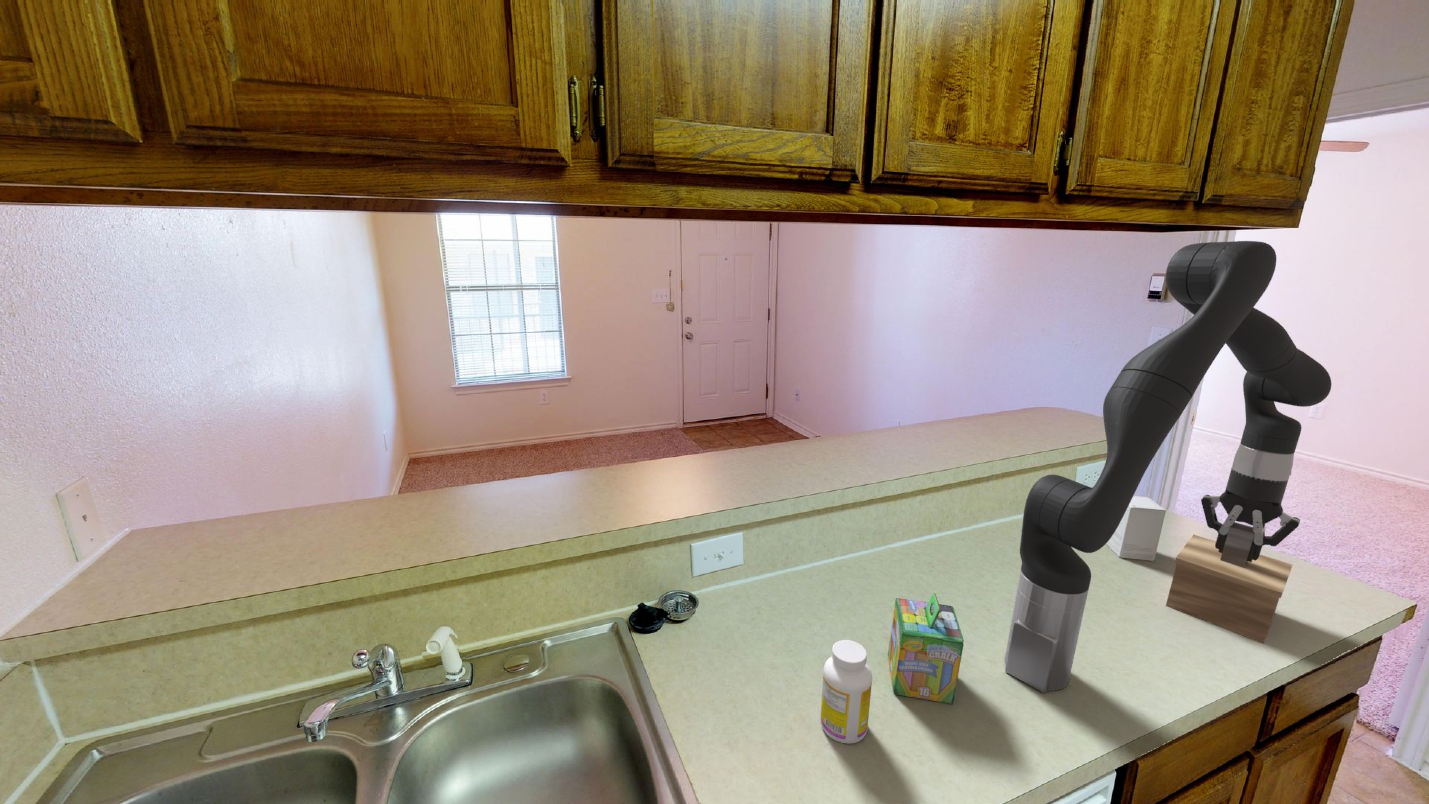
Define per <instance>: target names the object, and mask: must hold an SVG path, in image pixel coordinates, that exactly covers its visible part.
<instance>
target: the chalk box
mask: <svg viewBox="0 0 1429 804" xmlns="http://www.w3.org/2000/svg"><path fill="white" fill-rule="evenodd" d="M891 623H892V624H891V631H890V637H889V643H888V651H887V659H888V665H889V673H890V681H891V685H892V692H893V694H894V695H897V696H903V697H909V698H915V699H922V700H926V701H932V702H938V703H944V704H949V705H954V703H955V697H956V690H957V683H958V679H959V678H958V677H959V673H960V668H961V667H960V666H961V660H962V656H963V650H964V642H965V640H964V636H963V633H962V631H961V630H962V629H961V628H960V624H959V621H958V618H957V615H956V612H955V608H954V606H952V605H947V604H942V603H939V599H938V598H937V594H936V593H935V592H933V593H932V595H931V596H930V599H929V601H928V602H927V601H919V600H913V599H906V598H898V597H896V598H895V601H894V609H893V616H892V622H891Z"/></svg>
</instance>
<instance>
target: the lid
mask: <svg viewBox="0 0 1429 804" xmlns="http://www.w3.org/2000/svg"><path fill="white" fill-rule="evenodd" d="M1254 534H1255V533H1253V526H1251V525H1248V524H1243V523H1241V522H1237V521H1235V522H1234V524H1233V525H1232V527H1231V526H1230V527H1229V531H1228V534H1227V538H1226V541H1225V545H1224V548H1223V552H1222V553H1220V552H1218V551H1219V549H1216V547H1215V544H1216V540H1213V539H1209V538H1207V537H1204V536H1199V535H1196V534H1192V536H1191V537H1190V538H1189V540H1188V541H1187V543H1186V544H1185V545H1184V547H1182V549H1181V550H1180V551H1179V552H1178V554H1177V556H1176V557H1175V559H1174V563H1175V564H1177V563H1178V564H1181V565H1184V566H1187V567H1190V568H1193V569H1196V570H1199V571H1202V572H1205V573H1208V574H1211V575H1214V576H1217V577H1220V578H1223V579H1226V580H1229V581H1231V582H1234V583H1237V584H1240V585H1243V586H1246V587H1249V588H1252V589H1255V590H1258V591H1261V592H1264V593H1267V594H1270V595H1273V596H1276V597H1279V599H1281V598H1282V596H1283V594H1284V590H1285V587H1286V585H1287V583H1288V579H1289V577H1290V573H1291V571H1292V568H1293V564H1292V563H1290V562H1286V561H1282V560H1279V559H1277V558H1272V557H1270V556H1266V555H1262V554H1260V555H1259V558H1258V559H1257V560H1256V561H1255V560H1252V562H1248V561H1247V558H1248V554H1249V551H1250V548H1251V544H1252V542H1253V540H1254Z"/></svg>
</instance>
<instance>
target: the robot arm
mask: <svg viewBox="0 0 1429 804" xmlns="http://www.w3.org/2000/svg"><path fill="white" fill-rule="evenodd" d="M1276 253H1277V252H1276V251H1275V249H1274V248H1273V246H1272V245H1270V244H1269V243H1267V242H1264V241H1258V240H1254V241H1253V240H1237V241H1235V240H1234V241H1210V242H1199V243H1197V242H1196V243H1192V244H1188V245H1185V246H1183V247H1181V248H1180V249H1178V250H1177V251H1176V252H1175V253H1174V254H1173V256H1172V257H1171V258H1170V259H1169V262H1168V264H1167V267H1166V269H1165V270H1166V271H1165V285H1166V288H1167V290H1168V292H1169V293H1170V296H1172V298H1174V300H1175V301H1176V302H1178V303H1179V304H1180V305H1181V306H1183V307H1184V308H1185V309H1186V310H1187V311H1188V312H1190V313H1191V314H1192V315H1193V316H1192V317H1191V318H1189V320H1187V321H1186V322H1185V323H1184V324H1182V325H1181V326H1179V327H1178V328H1176V329H1175V330H1174V331H1172V332H1170V333H1168V334H1167V335H1165V336H1164V337H1162V338H1160V339H1159V340H1157V341H1155V342H1154V343H1152V344H1151V345H1149V346H1147V347H1145V348H1144V349H1143V350H1141V351H1140V352H1138V353H1137V354H1136V355H1134V356H1133V357H1131V358H1130V360H1128V361H1127V363H1126V364H1124V366H1123V367H1122V368H1121V371H1120V372H1119V374H1118V375H1117V377H1116V378H1115V379H1114V382H1113V383H1112V385H1111V386H1110V388H1109V390H1108V391H1107V393H1106V396H1105V398H1104V400H1103V407H1102V415H1103V418H1102V419H1103V425H1104V430H1105V437H1106V446H1107V447H1106V449H1107V450H1106V459H1105V463H1104V466H1103V468H1102V471H1101V473H1100V475H1099V478H1098V479H1097V481H1096V482H1095V484H1094V486H1093V487H1090V486H1088V485H1086V484H1083V483H1080V482H1077V481H1075V480H1072V479H1071V478H1067V477H1065V476H1062V475H1058V474H1046V475H1044V476H1042V477H1040V478H1039V479H1038V480H1036V482H1034V484H1033V485H1032V487H1031V488H1030V490H1029V493H1028V494H1027V498H1026V500H1025V503H1024V508H1023V515H1022V526H1021V536H1020V543H1019V544H1020V545H1019V556H1020V559H1021V560H1020V561H1021V567H1020V573H1019V579H1018V583H1017V589H1016V594H1015V599H1014V600H1015V601H1014V604H1013V605H1014V606H1013V610H1012V616H1011V621H1010V622H1011V623H1010V626H1009V627H1010V628H1009V633H1008V639H1007V644H1006V651H1005V655H1004V663H1005V668H1004V672H1006V673H1008V674H1009V675H1010V676H1012V677H1014V678H1016V679H1018V680H1020V681H1022V682H1024V683H1026V684H1027V685H1029V686H1030V687H1032V688H1034V689H1036V690H1038V691H1039V692H1041V693H1044V694H1046V693H1047V692H1048V691H1058V690H1062V689H1064V688H1066V687H1067V686H1068V685H1069V682H1070V678H1071V673H1072V669H1073V664H1074V659H1075V653H1076V650H1077V645H1078V641H1079V636H1080V631H1081V626H1082V622H1083V617H1084V613H1085V607H1086V603H1087V599H1088V594H1089V589H1090V586H1091V580H1092V571H1091V568H1090V566H1089V565H1088V563H1087V562H1086V561H1084V559H1083V558H1082V557H1081V556H1080V555H1078V554H1079V553H1077V552H1076V551H1075V550H1074V549H1076V550H1077V551H1078V552H1082V553H1085V554H1092V553H1095V552H1098V551H1099V550H1100V549H1102V548H1103V547H1104V546H1105V545H1107V544H1106V543H1107V542H1108V541H1109V540H1110V538H1111V537H1112V535H1113V534H1114V533H1115V531H1116V529H1117V528H1118V526H1119V524H1120V522H1121V520H1122V518H1123V516H1124V514H1125V512H1126V510H1127V508H1128V506H1129V504H1130V502H1131V500H1132V498H1133V496H1135V493H1136V491H1137V490H1138V487H1139V485H1140V483H1141V481H1142V479H1143V477H1144V475H1145V474H1146V471H1147V469H1148V468H1149V466H1150V464H1151V462H1152V460H1153V459H1154V457H1155V456H1156V454H1157V452H1158V451H1159V449H1160V448H1161V446H1162V444H1163V443H1164V442H1165V439H1166V438H1167V436H1168V435H1169V434H1170V432H1171V430H1172V429H1173V427H1174V426H1175V424H1176V423H1177V422H1178V420H1179V419H1180V417H1181V416H1182V414H1183V413H1184V410H1185V409H1186V407H1187V406H1188V405H1189V403H1190V402H1191V400H1192V398H1193V396H1194V394H1195V393H1196V392H1197V389H1198V388H1199V385H1200V384H1201V382H1202V380H1203V378H1204V377H1205V375H1206V374H1207V372H1208V371H1209V369H1210V367H1211V366H1212V364H1213V363H1214V361H1215V360H1216V358H1217V356H1218V355H1219V354H1220V352H1221V350H1222V349H1223V348H1224V346H1225V345H1227V347H1228V348H1229V349H1230V351H1231V353H1232V354H1233V356H1234V357H1235V358H1236V359H1237V361H1238V363H1239V364H1240V365H1241V367H1242V368H1243V369H1244V370H1245V371H1246V372H1245V374H1244V377H1243V382H1242V385H1243V386H1242V388H1243V389H1242V390H1243V391H1242V392H1243V399H1244V408H1245V409H1244V410H1245V425H1244V429H1243V431H1242V436H1241V439H1240V443H1239V446H1238V447H1237V450H1236V452H1235V454H1234V458H1233V461H1232V465H1231V468H1230V472H1229V476H1228V479H1227V483H1226V486H1225V491H1224V492H1223V493H1222V494H1220V495H1216V496H1215V495H1214V496H1211V494H1205V495H1203V497H1201V499H1200V502H1201V507H1202V509H1203V514H1204V518H1205V521H1206V525H1207V527H1208V528H1209V529H1213V530H1215V531H1216V532H1217V536H1216V540H1215V541H1216V544H1215V547H1216V549H1219V551H1218V552H1220V553H1222V552H1223V548H1224V545H1225V541H1226V538H1227V534H1228V531H1229V527H1230V526H1231V527H1232V525H1233V524H1234V522H1237V523H1245V524H1246V525H1248V526H1251V527H1253V533H1255V534H1254V540H1253V542H1252V544H1251V548H1250V551H1249V554H1248V558H1247V561H1248V562H1252V560H1255V561H1256V560H1257V559H1258V558H1259V555H1261V551H1262V548H1263V546H1271V547H1276V546H1278V545H1279V544H1280V543H1281V542H1282V541H1284V540H1285V539H1286V538H1288V536H1289V535H1290V534H1291V533H1293V532H1294V531H1295V530H1296V529H1297V528H1298V527H1299V525H1300V523H1301V519H1300V518H1299V517H1295V516H1291V515H1290V514H1287V513H1286V512H1284V509H1283V505H1282V502H1283V499H1284V497H1285V492H1286V489H1287V485H1288V483H1289V480H1290V476H1291V475H1292V469H1293V465H1294V457H1295V452H1296V449H1297V446H1298V443H1299V440H1300V436H1301V432H1302V424H1301V422H1300V421H1298V420H1297V419H1294V418H1293V417H1290V416H1288V415H1286V414H1284V413H1282V412H1280V411H1279V410H1278V409H1277V405H1276V404H1275V403H1279V404H1285V405H1289V406H1294V407H1304V408H1305V407H1311V406H1315V405H1319V404H1320V403H1322V402H1323V401H1324V400H1325V399H1326V398H1327V397H1328V396H1329V394H1330V393H1331V389H1332V379H1331V376H1330V374H1329V372H1328V371H1327V369H1326V368H1325V367H1324V365H1322V364H1321V363H1320V362H1319V361H1317V360H1316V359H1314V358H1313V357H1311V356H1310V355H1308V354H1307V353H1306V352H1304V351H1302V350H1301V349H1300V348H1297V346H1296V344H1295V343H1294V341H1293V339H1292V338H1291V336H1290V335H1289V333H1288V331H1287V330H1286V329H1285V328H1284V327H1283V325H1281V324H1280V322H1278V321H1277V320H1276V319H1274V318H1273V317H1272V316H1269V315H1268V314H1267V313H1265V312H1263V311H1261V310H1259V309H1258V308H1256V307H1255V306H1256V305H1257V304H1258V302H1259V301H1260V299H1261V297H1263V295H1264V294H1265V292H1266V291H1267V289H1268V287H1269V285H1270V284H1271V281H1272V279H1273V276H1274V273H1275V271H1276V267H1277V266H1276V265H1277V254H1276ZM1219 503H1220V504H1221V506H1222V507H1223V509H1224V511H1225V512H1226V514H1227V515H1228V516H1227V517H1226V519H1225V520H1224V522H1223V523H1221V522H1219V520H1218V516H1217V513H1216V512H1217V511H1216V508H1217V507H1218V505H1219ZM1278 518H1279V519H1280V521H1279V525H1280V526H1281V527H1280V528H1279V529H1277V531H1275V532H1274V533H1273V534H1272V535H1270V536H1269V535H1268V536H1267V535H1266V524H1267V523H1270V522H1273V521H1274V520H1276V519H1278Z"/></svg>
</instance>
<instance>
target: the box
mask: <svg viewBox="0 0 1429 804" xmlns="http://www.w3.org/2000/svg"><path fill="white" fill-rule="evenodd" d="M1172 576H1173V577H1172V580H1171V583H1170V588H1169V593H1168V595H1167V600H1166V602H1165V606H1166V607H1169V608H1172V609H1174V610H1177V611H1180V612H1181V613H1184V614H1187V615H1189V616H1192V617H1195V618H1198V619H1199V620H1202V621H1205V622H1208V623H1209V624H1212V625H1216V626H1218V627H1220V628H1222V629H1226V630H1228V631H1231V632H1233V633H1235V634H1238V635H1241V636H1243V637H1247V638H1248V639H1251V640H1254V641H1256V642H1260V643H1262V644H1265V641H1266V638H1267V636H1268V634H1269V633H1268V632H1269V630H1270V628H1271V624H1272V622H1273V619H1274V616H1275V613H1276V610H1277V608H1278V604H1279V601H1280V598H1279V597H1276V596H1273V595H1270V594H1267V593H1264V592H1261V591H1258V590H1255V589H1252V588H1249V587H1246V586H1243V585H1240V584H1237V583H1234V582H1231V581H1229V580H1226V579H1223V578H1220V577H1217V576H1214V575H1211V574H1208V573H1205V572H1202V571H1199V570H1196V569H1193V568H1190V567H1187V566H1184V565H1181V564H1178V563H1175V569H1174V572H1173V575H1172Z"/></svg>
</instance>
